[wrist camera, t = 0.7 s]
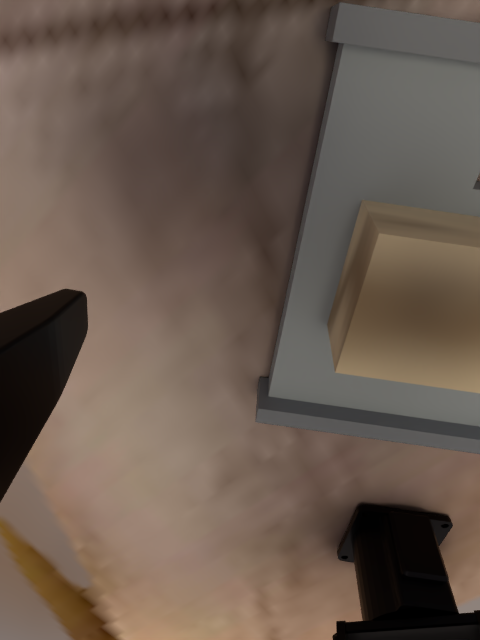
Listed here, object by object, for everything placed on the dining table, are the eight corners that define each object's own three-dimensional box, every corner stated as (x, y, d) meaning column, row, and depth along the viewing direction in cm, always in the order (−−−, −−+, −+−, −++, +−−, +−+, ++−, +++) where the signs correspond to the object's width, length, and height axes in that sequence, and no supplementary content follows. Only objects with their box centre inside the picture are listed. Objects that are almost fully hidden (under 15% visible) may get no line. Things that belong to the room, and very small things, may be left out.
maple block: (453, 342, 21) (482, 393, 18) (327, 324, 21) (335, 372, 18) (512, 221, 17) (560, 259, 14) (361, 199, 17) (379, 233, 14)
